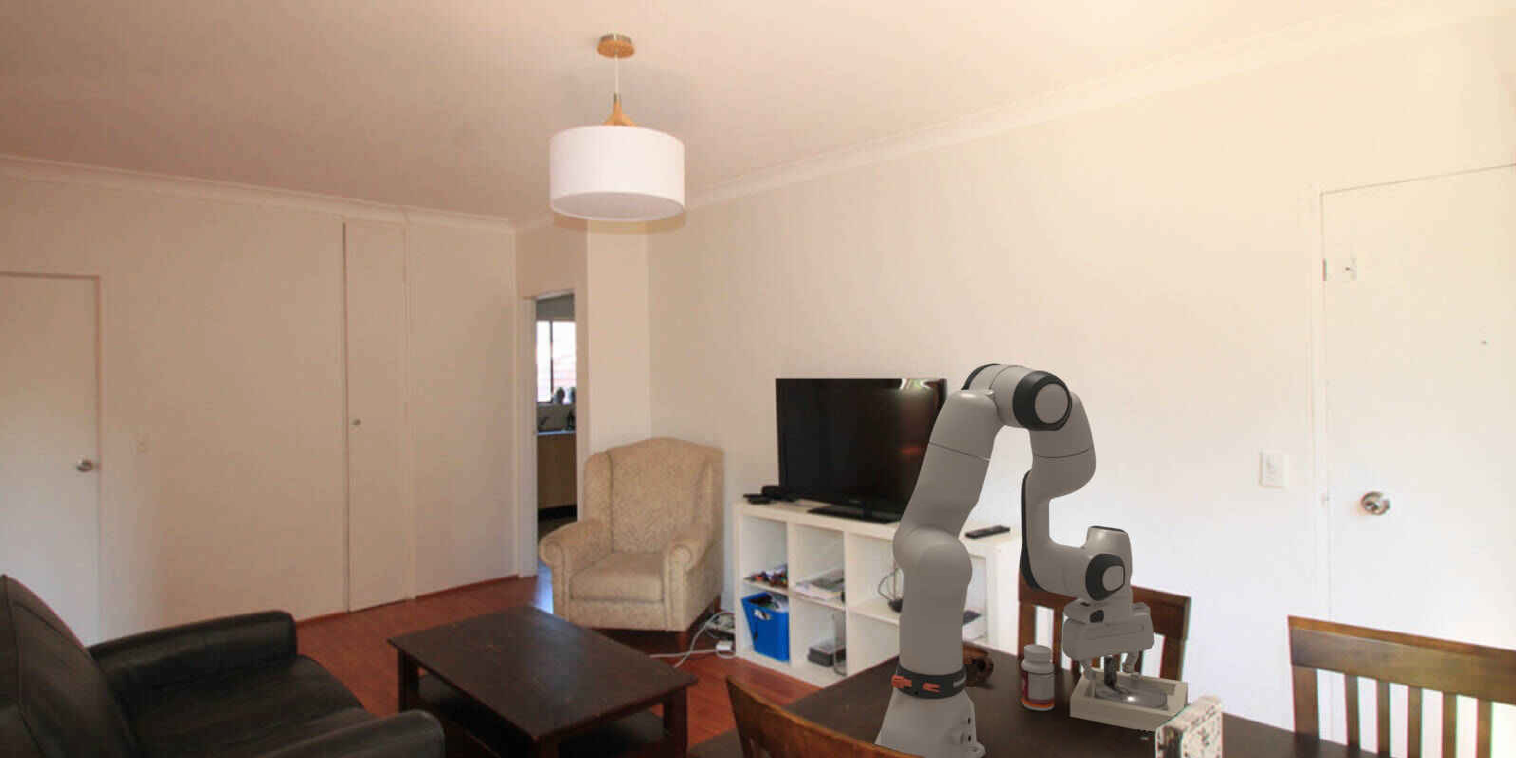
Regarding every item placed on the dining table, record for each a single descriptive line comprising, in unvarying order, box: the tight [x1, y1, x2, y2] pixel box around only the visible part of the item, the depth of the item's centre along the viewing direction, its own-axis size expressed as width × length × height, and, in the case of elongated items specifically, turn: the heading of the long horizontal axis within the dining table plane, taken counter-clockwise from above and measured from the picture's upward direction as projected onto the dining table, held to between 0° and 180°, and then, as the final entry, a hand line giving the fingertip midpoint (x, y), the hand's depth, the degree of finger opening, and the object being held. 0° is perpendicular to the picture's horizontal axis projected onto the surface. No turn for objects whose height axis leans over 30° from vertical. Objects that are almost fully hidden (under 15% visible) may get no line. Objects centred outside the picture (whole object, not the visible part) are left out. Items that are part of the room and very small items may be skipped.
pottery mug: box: [962, 644, 995, 687], centre depth 176 cm, size 12×10×8 cm
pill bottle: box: [1020, 643, 1055, 712], centre depth 162 cm, size 6×6×11 cm
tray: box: [1069, 666, 1189, 733], centre depth 160 cm, size 19×19×4 cm
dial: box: [1094, 655, 1167, 711], centre depth 160 cm, size 13×13×7 cm
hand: (1109, 675), depth 164 cm, fingers open, 8 cm apart
